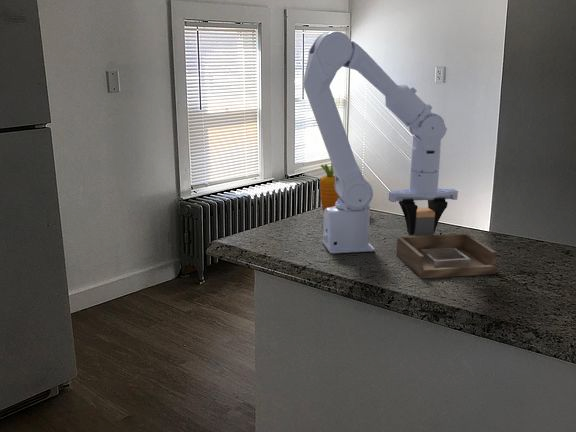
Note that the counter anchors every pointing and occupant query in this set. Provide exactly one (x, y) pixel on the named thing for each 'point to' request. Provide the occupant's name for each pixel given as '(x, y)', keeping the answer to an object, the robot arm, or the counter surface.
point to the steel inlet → (458, 262)
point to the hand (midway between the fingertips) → (420, 233)
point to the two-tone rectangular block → (424, 222)
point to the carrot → (328, 188)
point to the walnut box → (464, 243)
